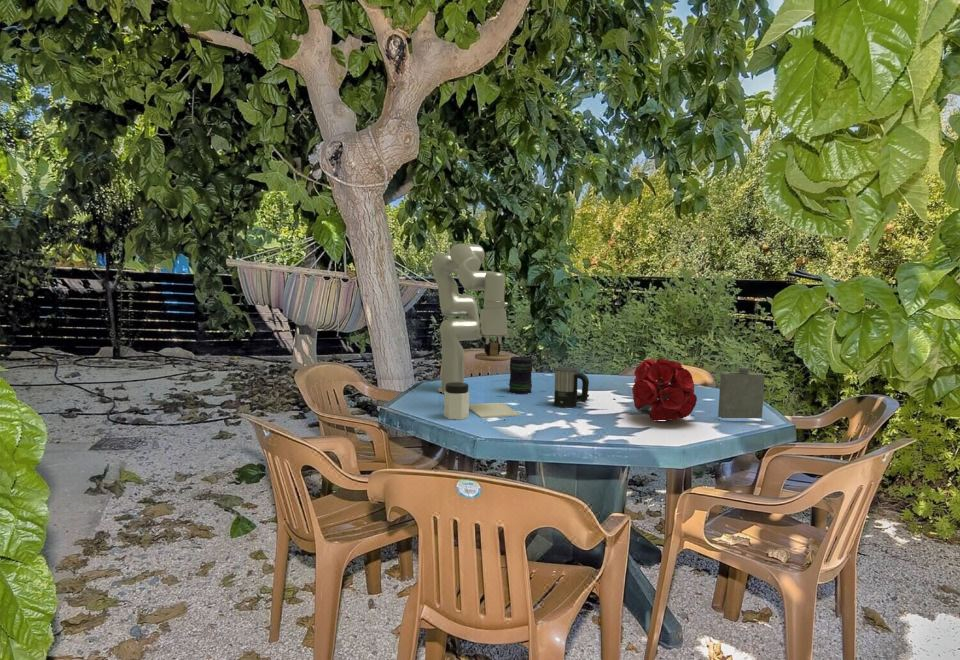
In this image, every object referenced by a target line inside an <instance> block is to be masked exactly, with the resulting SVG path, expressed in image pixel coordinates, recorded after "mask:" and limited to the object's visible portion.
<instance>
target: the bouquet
mask: <svg viewBox="0 0 960 660" xmlns="http://www.w3.org/2000/svg"><path fill="white" fill-rule="evenodd" d="M634 376H635V378H634V380H633V382H634V383H633V385H632V388H631V389H632V390H631V392H632V398H633V399H632V400H633V403H634V404H633V405H634V408H635V409H636V410H641V411H644V410H645V411H648V410H649V417H650V419H651V420H652V421H653V420H668V421H669V419H672V420H671V421H674V420H677V419H678V420H682V419H684V418H687V417H689V416H690V415H691V414H692V412H693V411H694V409H695V407H696V405H697V401H698V397H697V395H696V394H695V384H694V382H695V381H694V379H693V374H692V373H691V372H690V371H689V370H688V368H687V369H686V368H684V367H683V365H682V363H680V362H677V361H675V360H669V359H663V358H662V357H658V359H656V360H655V359H654V358H648V359H645V360H644V361H641V362H640V363H639V364H638V365H637V367H635V369H634Z"/></svg>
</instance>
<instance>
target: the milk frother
mask: <svg viewBox="0 0 960 660" xmlns="http://www.w3.org/2000/svg"><path fill="white" fill-rule="evenodd" d="M578 370H579V369H578V368H576V367H569V366H558V367H554V397H553V399H554V400H553V405H554V406H555V407H559V408H575V407H577V406H578V405H577V403H579V402H582V403H583V402H586V401H587V400H588V398H590V394H589V384H590V380H589V378H588V376H587V375H585V373H582V372H578ZM578 379H579V380H581V382H582V386H581V394H578Z"/></svg>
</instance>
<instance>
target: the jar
mask: <svg viewBox="0 0 960 660" xmlns="http://www.w3.org/2000/svg"><path fill="white" fill-rule="evenodd" d="M445 389H446V391H445V392H444V394H443V395H444V400H443V402H444V403H443V405H444V406H443V408H444V409H443V411H444V412H443V417H444V416H445V418H446V419H448V420H453V419H456V420H455V421H459V420H460V421H462V420H465V419H469V417H470V411H469V410H470V409H469V404H470V391H469V384H468V383H466V382H464V383H461V382H451V383H447V384H446V387H445Z"/></svg>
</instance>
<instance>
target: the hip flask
mask: <svg viewBox="0 0 960 660" xmlns="http://www.w3.org/2000/svg"><path fill="white" fill-rule="evenodd" d="M749 371H750V367H748V366H738V371H729V372H725V371H724V372H720V379H719V381H720V383H719V394H718V395H719V396H718V397H719V398H718V412H717V413H718V414H717V418H718V417H721V418H762V419H763V407H764V395H765V394H764V393H765V381H766V380H765V378H766V374H765V373H762V372H761V373H760V372H759V373H758V372H757V373H756V372H751V373H749Z"/></svg>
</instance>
